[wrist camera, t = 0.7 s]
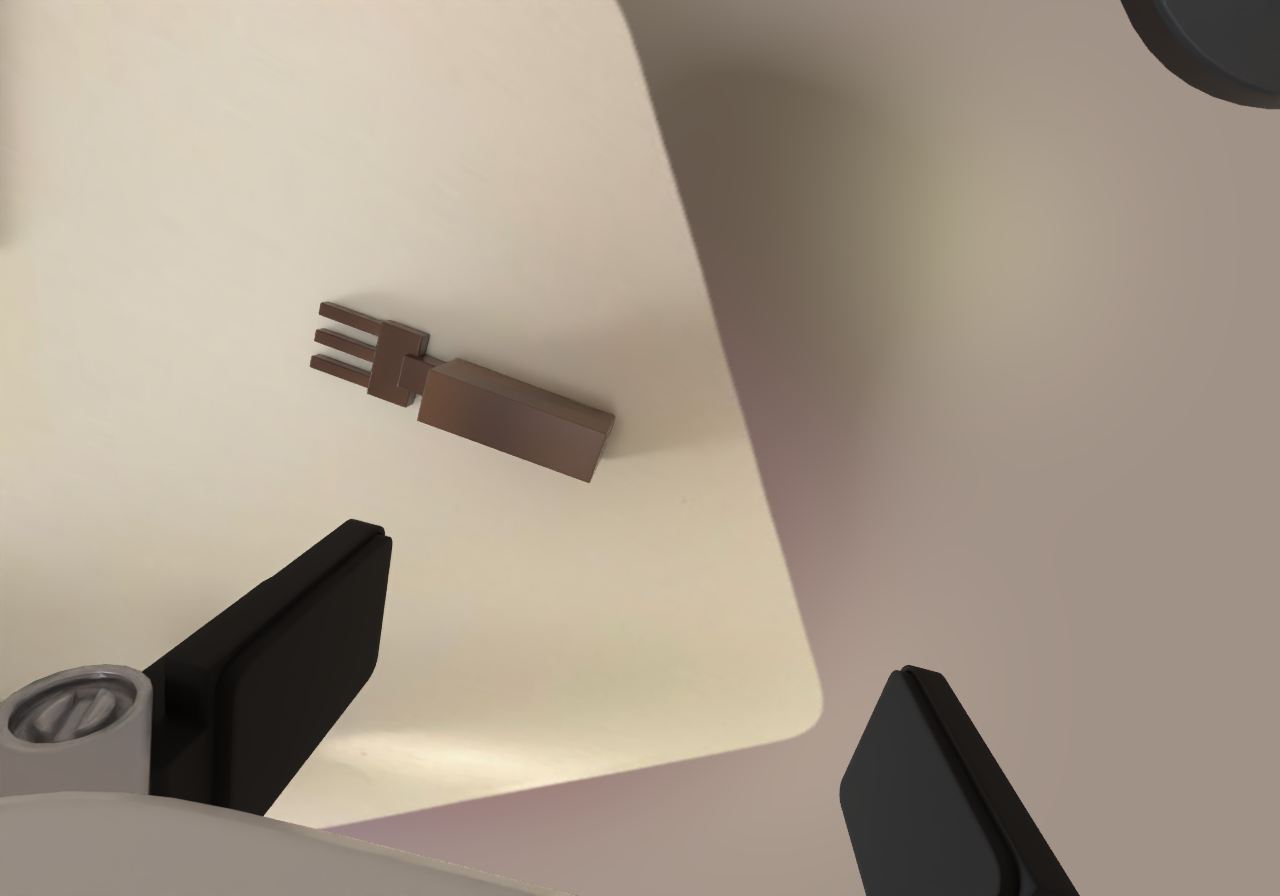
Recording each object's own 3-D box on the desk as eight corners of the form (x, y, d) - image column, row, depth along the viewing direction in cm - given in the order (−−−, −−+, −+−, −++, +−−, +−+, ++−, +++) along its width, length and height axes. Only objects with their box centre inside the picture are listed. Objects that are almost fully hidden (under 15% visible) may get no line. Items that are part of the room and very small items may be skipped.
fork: (620, 404, 28) (611, 421, 25) (596, 471, 29) (585, 495, 26) (328, 297, 28) (283, 301, 25) (315, 368, 29) (271, 381, 26)
